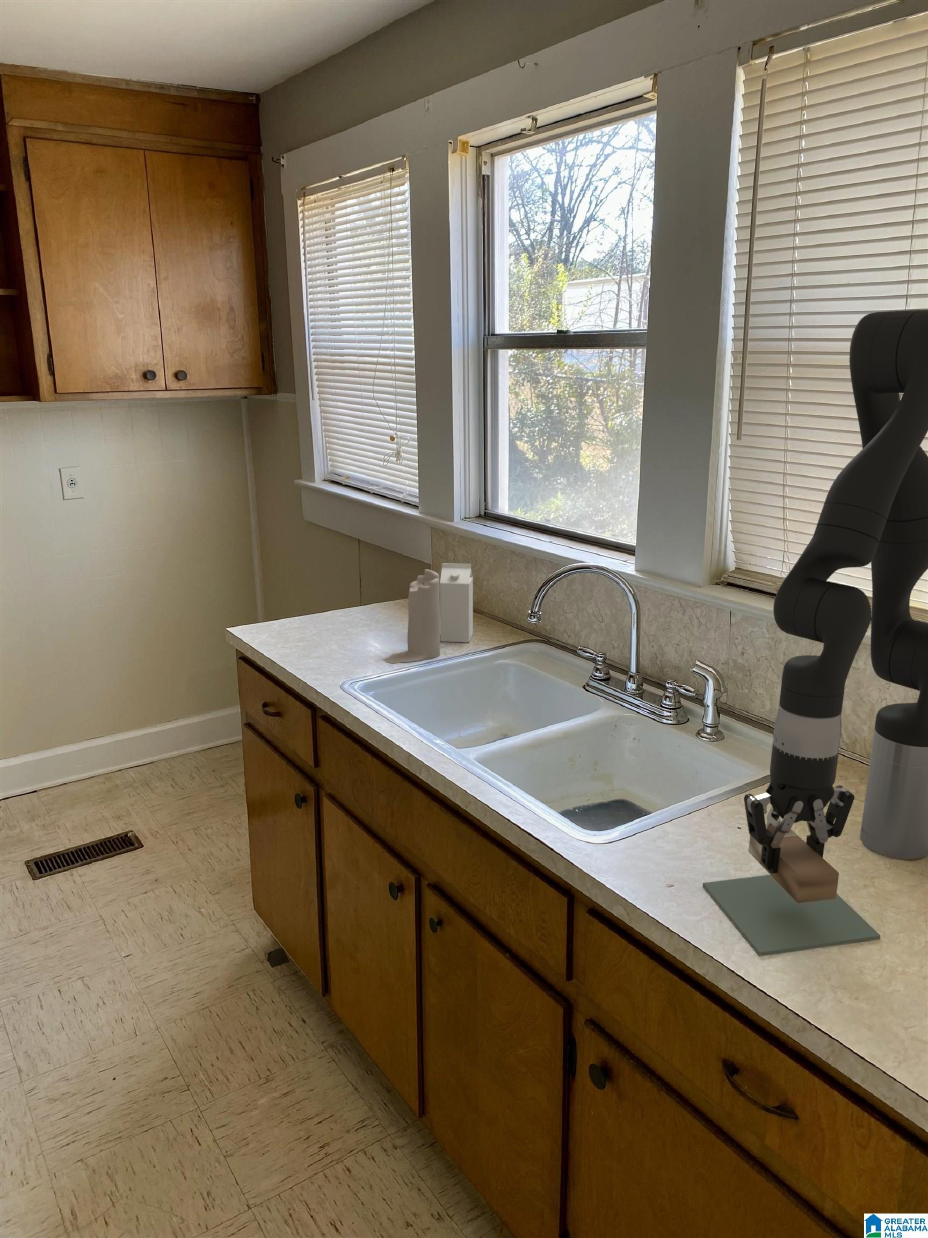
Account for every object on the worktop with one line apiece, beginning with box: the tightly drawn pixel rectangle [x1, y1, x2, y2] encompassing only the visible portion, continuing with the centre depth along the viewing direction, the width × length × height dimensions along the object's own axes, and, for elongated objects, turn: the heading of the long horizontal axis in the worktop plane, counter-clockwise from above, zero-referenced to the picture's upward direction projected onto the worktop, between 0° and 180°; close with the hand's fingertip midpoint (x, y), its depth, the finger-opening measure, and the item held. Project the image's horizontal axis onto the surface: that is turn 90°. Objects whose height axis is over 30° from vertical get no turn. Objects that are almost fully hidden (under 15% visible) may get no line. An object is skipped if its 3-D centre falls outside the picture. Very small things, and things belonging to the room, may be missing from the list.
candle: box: [382, 568, 441, 664], centre depth 211 cm, size 7×14×20 cm, turn 121°
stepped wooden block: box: [747, 828, 840, 903], centre depth 115 cm, size 12×5×4 cm, turn 11°
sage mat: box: [702, 874, 881, 957], centre depth 117 cm, size 16×15×1 cm
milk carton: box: [439, 562, 474, 643], centre depth 225 cm, size 7×7×19 cm
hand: (791, 867), depth 115 cm, fingers closed on stepped wooden block, 5 cm apart
